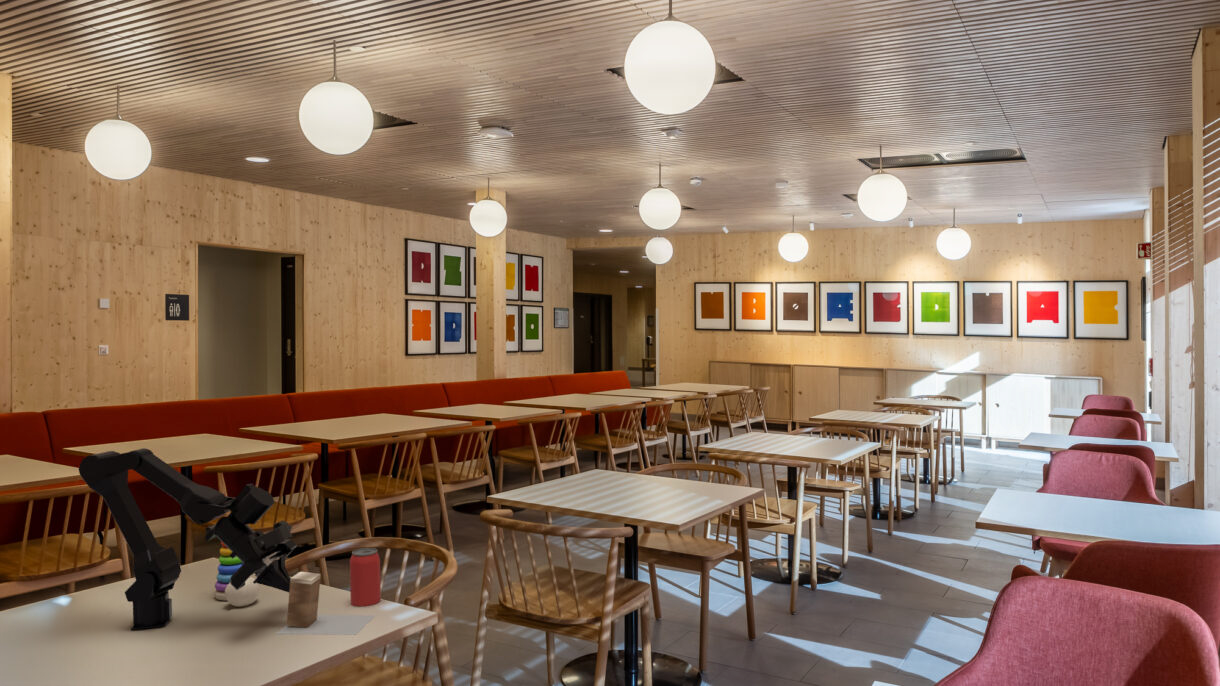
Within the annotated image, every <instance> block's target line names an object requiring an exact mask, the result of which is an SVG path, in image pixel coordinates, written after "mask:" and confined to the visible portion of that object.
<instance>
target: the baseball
mask: <svg viewBox="0 0 1220 686" xmlns="http://www.w3.org/2000/svg"><path fill="white" fill-rule="evenodd" d="M255 579H256V578H254V577H253V576H250V577H249V578H248V579H247V580H246V582H245V585H244V586H243V587H242V588H240V589H238V590H236V589H235V588H234V587H233V586H232V585H231V583H229V584H228V585H227V586H226V588H225V598H226V599H227V600H226V601H227V602H228V603H229V604H231V605H232V606H233V607H237V608H239V607H240V608H241V607H247V606H250V605H251V604H253V603H254V602H256V600H257V598H258V596H259V594H260V586H259V584H258V583H255V584H254V583H253V581H254V580H255Z"/></svg>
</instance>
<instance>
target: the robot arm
mask: <svg viewBox="0 0 1220 686" xmlns="http://www.w3.org/2000/svg"><path fill="white" fill-rule="evenodd" d="M130 470H133V471H134V472H136V473H137V474H139V475H140V476H141V477H143V478H144V479H146V480H147V481H149V483H152V484H153V485H154V486H156V487H157V488H158V489H160V490H162V492H164V493H166V494H167V495H168V496H170V497H172V498H173V499H175V501H176V502H177V503H178V504H179V506H180V508H181V511H182V513H184V514H185V515H186V516H187V517H188V518H189V519H190V521H192V522H193V523H195V524H197V525H203V524H208V523H211V522H213V521H215V520H217V519H218V520H217V521H216V522H215V523H214V525H212V524H211V525H209V526H207V527H206V528H205V538H204V540H205V541H206V542H208V541H210V540H212V539H215V538H217V539H218V540H219V541H220V542H221V541H222V542H223V543H224V544H225V545H226V546H227V547H228V548H229V549H230V550H231V551H232V553H231V554H230V555H229V556H230V557H231V558H232V559H233V558H235V557H238V558H239V559H240V560H241V561H242V562H243V563H244V564H243V565H242V566H241V567H240V568H239V569H238V570H237V571H236V572H235V573H234V574H233V575H232V576H231V578H230V583H231V585H232V586H233V587H234V588H235V589H236V590H238V589H240V588H242V587H243V586H244V585H245V582H246V580H247V579H248V578H249V577H252V576H253V575H254V576H255V578H254V579H255V580H254V581H253V583H254V584H255V583H258V585H259V584H260V585H262V586H266V587H270V588H273V589H276V590H281V591H283V592H286V593H289V591H290V580H291V578H292V577H290V574H289V573H288V570H287V568H286V558H287V557H288V556H289V555H290V554H291V553H292V552H293V551H294V549H295V548H296V547H297V546H298V544H297V543H296V542H294V540H293V539H291V538H292V537H293V535H292V533H291V532H292V531H291V530H292V525H289V523H288V522H286V521H285V520H284V519H283V520H279V521H278V522H276V523H274V524H273V525H272V526H273V529H272V530H270V531H268V532H266V533H264V532H263V531H262V530H257V531H254V529H252V528H251V527H250V526H249V525H256V524H257V523H258V522H259V520H261V519H262V517H263V516H264V515H265V514H266V513H267V512H268V510H270V509H271V508H272V506H273V505H274V504H275V499H274V497H273V496H272V494H271V493H270V492H269V491H267V490H265V489H263V488H261V487H258V486H255V484H253V483H248V484H246V485H245V486H244V487H243V488H242V490H241V492H239V493H238V495H237V496H236V497H232V496H226V494H224V493H223V492H221V491H218V490H217V489H214V488H212V487H210V486H207V485H204V484H203V485H202V484H198V483H196V482H194V481H192V480H191V479H190V478H188V477H187V476H185V475H184V474H182V473H181V472H179V471H178V470H177V469H175V468H174V467H173V466H171V465H170V464H168V463H166V462H165V461H164V460H162V459H161V458H159V457H158V456H157V455H155V454H154V452H153V451H152V450H151V449H149V448H144V447H143V448H138V449H133V450H130V451H128V452H122V453H120V452H117V451H115V450H108V451H103V452H99V453H94V454H91V455H88V456H85V457H84V458H83V459H82V460H81V462H80V464H79V466H78V473H79V475H80V477H81V478H82V480H83V481H84V482H85V484H86V485H87V486H88V488H89V489H90V490H92V491H94V492H95V493H97V494H98V495H100V496H101V497H102V498H103V499H104V501H105V504H106V506H107V507H108V509H109V511H110V514H111V515H112V517H113V519H114V521H115V523H116V524H117V527H118V529H119V531H120V532H121V534H122V536H123V538H124V540H125V542H126V543H127V546H128V548H129V550H130V552H131V554H132V556H133V564H132V565H133V567H132V572H133V575H134V578H135V580H134V582H133V583H132V584H131V585H130V586H129V587H128V588H127V589H126V590H125V591H124V595H125V598H126V600H127V602H129V603H131V602H132V623H133V624H132V626H131V627H130V630H131V631H137V630H145V629H154V628H164V627H166V626H167V624H168V623H169V621H170V620H171V619H172V617H173V602H172V601H173V599H172V598H171V597H169V596H170V595H169V593H170V592H169V591H170V590H173V589H174V587H175V584H176V581H177V580H178V579H179V578H180V575H181V573H182V567H181V565H180V564H181V563H182V561H181V560H180V559H179V558H178V556H177V555H176V551H175V548H173V547H172V546H169V547H167V548H164V547H163V546H161V545H160V544H159V543H158V542H157V540H156V538H155V536H154V534H153V531H152V530H151V528H150V526H149V524H148V522H147V520H146V519H145V517H144V515H143V512H142V511H141V509H140V506H138V505H139V504H138V503H137V501H136V500H135V497H134V496H133V493H132V492H131V490H130V488H129V485H128V484H129V483H128V482H129V471H130ZM229 512H230V513H229ZM227 513H229V514H228V515H227V516H224V515H226V514H227Z"/></svg>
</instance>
